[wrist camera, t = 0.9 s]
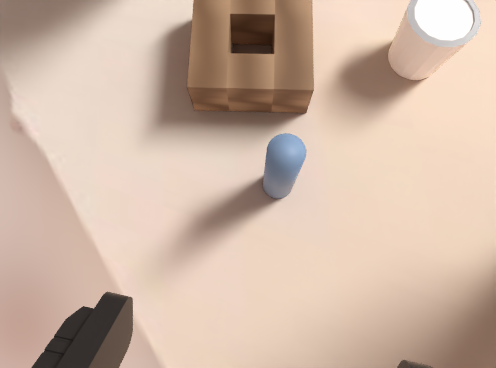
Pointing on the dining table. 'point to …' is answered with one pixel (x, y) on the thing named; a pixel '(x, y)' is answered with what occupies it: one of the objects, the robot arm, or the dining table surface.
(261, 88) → the hole block
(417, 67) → the white cup
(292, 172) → the peg
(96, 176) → the dining table surface
